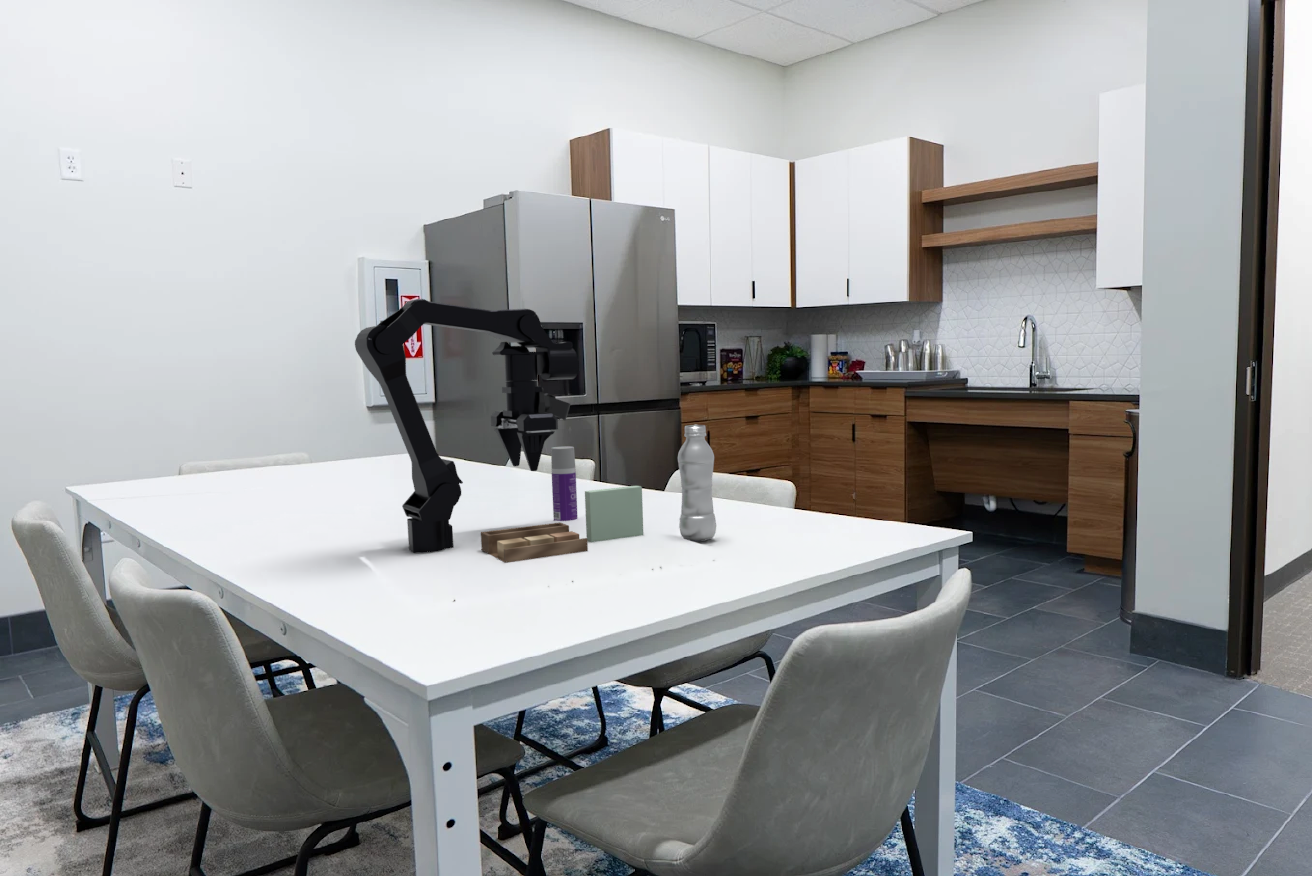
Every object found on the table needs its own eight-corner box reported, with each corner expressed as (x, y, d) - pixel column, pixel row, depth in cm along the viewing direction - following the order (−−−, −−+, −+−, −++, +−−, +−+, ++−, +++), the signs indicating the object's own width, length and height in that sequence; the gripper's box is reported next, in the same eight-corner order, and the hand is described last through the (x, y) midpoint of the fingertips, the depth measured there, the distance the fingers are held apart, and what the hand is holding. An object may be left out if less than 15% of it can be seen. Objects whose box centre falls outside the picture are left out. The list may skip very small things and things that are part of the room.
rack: (505, 568, 141) (504, 543, 141) (480, 555, 152) (479, 531, 151) (588, 556, 148) (587, 532, 148) (559, 544, 159) (558, 521, 158)
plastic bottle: (717, 536, 161) (714, 423, 159) (716, 544, 154) (713, 427, 153) (681, 537, 162) (677, 424, 160) (678, 545, 155) (674, 427, 153)
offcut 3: (557, 552, 148) (556, 537, 147) (550, 549, 150) (549, 534, 150) (579, 549, 150) (579, 534, 149) (572, 546, 152) (571, 531, 152)
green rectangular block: (591, 544, 155) (589, 492, 154) (586, 543, 157) (584, 491, 156) (643, 537, 160) (641, 486, 159) (638, 535, 162) (636, 485, 161)
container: (576, 525, 176) (573, 448, 175) (552, 526, 176) (548, 449, 175) (578, 521, 181) (575, 446, 180) (555, 521, 181) (552, 446, 180)
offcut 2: (531, 555, 145) (530, 540, 145) (524, 552, 148) (523, 537, 148) (554, 552, 147) (553, 537, 147) (547, 549, 150) (546, 534, 150)
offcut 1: (504, 559, 143) (503, 544, 143) (497, 556, 146) (497, 541, 146) (528, 556, 145) (527, 540, 145) (521, 553, 148) (520, 537, 148)
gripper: (584, 379, 157) (587, 470, 158) (545, 379, 173) (548, 460, 175) (523, 382, 152) (526, 475, 153) (488, 381, 168) (491, 465, 170)
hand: (524, 468), depth 163 cm, fingers open, 9 cm apart
